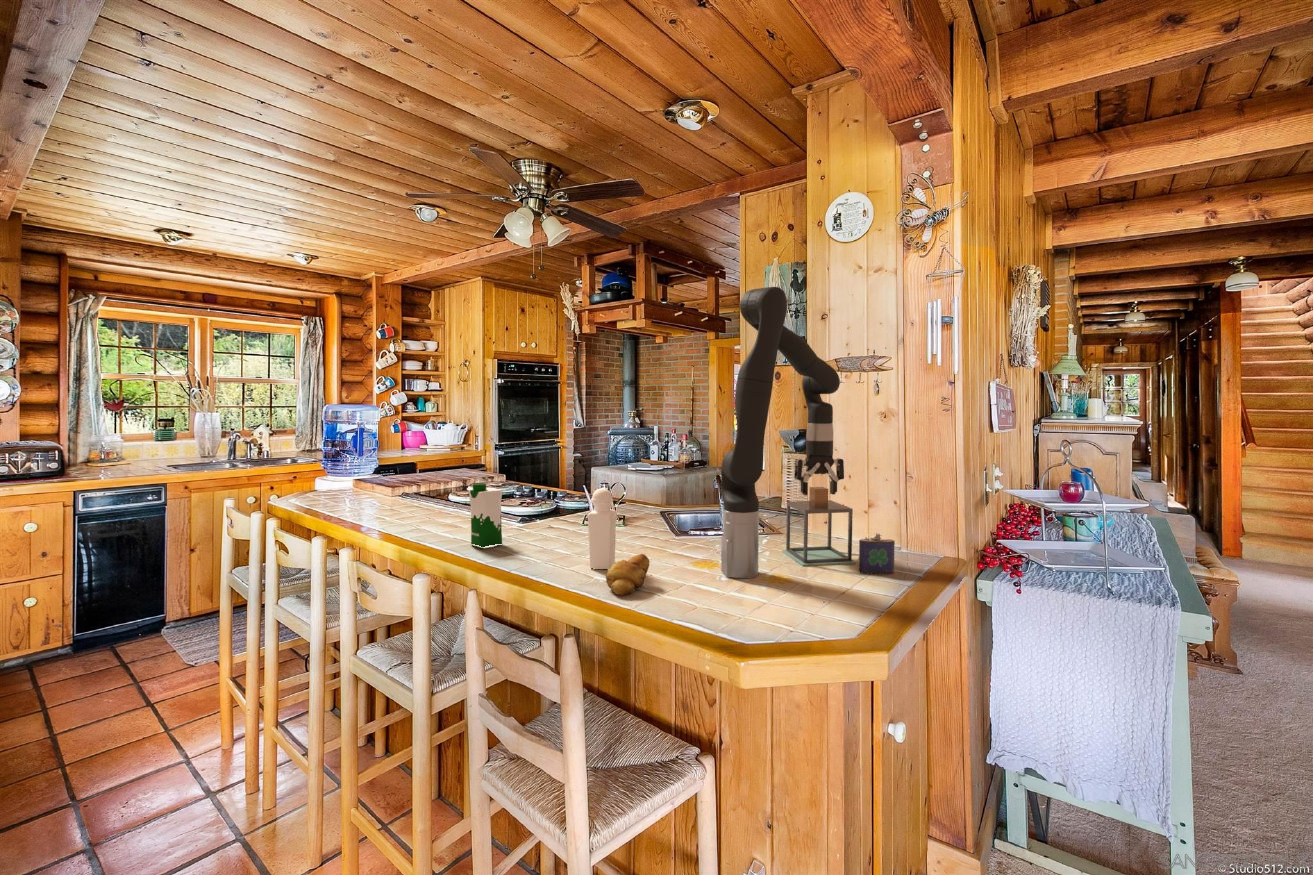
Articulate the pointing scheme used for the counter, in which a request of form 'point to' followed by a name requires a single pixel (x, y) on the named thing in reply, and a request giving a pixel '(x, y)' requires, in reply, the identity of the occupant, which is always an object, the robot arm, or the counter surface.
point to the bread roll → (628, 574)
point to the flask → (876, 555)
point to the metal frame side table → (823, 505)
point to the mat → (818, 557)
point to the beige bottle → (602, 530)
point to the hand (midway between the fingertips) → (818, 494)
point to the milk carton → (485, 515)
